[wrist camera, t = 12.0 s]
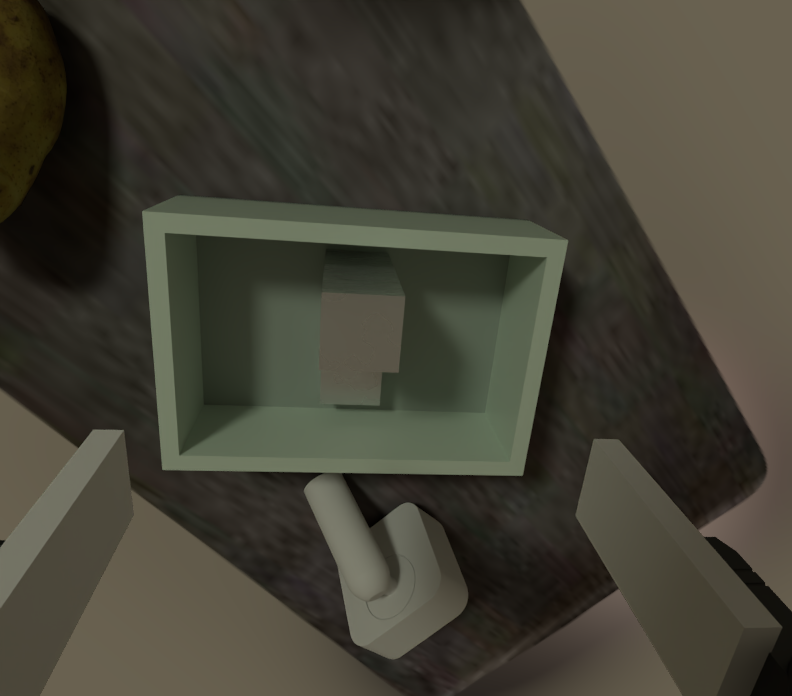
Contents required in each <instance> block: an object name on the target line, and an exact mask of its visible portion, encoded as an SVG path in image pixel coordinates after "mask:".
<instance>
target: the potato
mask: <svg viewBox="0 0 792 696" xmlns="http://www.w3.org/2000/svg"><path fill="white" fill-rule="evenodd" d="M66 94H67V83H66V73H65V67H64V62H63V59H62V55H61V52H60V49H59V46H58V43H57V40H56V37H55V34H54V32H53V29H52V26H51V23H50V21H49V18H48V16H47V14H46V12H45V10H44V8H43V7H42V6H41V4H40V3H39V2H38V0H0V223H1V222H3V221H4V220H5V219H6V218H8V217H9V216H10V215H11V214H12V213H13V212H14V211H15V210H16V209H17V207H18V206H21V205H22V203H23V200H24V199H25V197H26V195H27V193H28V191H29V190H30V188H31V187H32V185H33V183H34V181H35V179H36V177H37V175H38V173H39V171H40V169H41V166H42V164H43V161H44V159H45V157H46V155H47V154H48V153H49V152H50V151H51V149H52V148H53V146H54V144H55V143H56V141H57V139H58V137H59V134H60V132H61V128H62V123H63V117H64V112H65V106H66Z"/></svg>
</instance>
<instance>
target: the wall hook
mask: <svg viewBox="0 0 792 696" xmlns="http://www.w3.org/2000/svg"><path fill="white" fill-rule="evenodd" d="M304 493H305V495H306V497H307V500H308V502H309V504H310V506H311V508H312V511H313V513H314V515H315V517H316V519H317V522H318V524H319V526H320V528H321V530H322V532H323V535H324V537H325V539H326V541H327V543H328V546H329V548H330V550H331V552H332V554H333V557H334V559H335V561H336V563H337V565H338V570H339V576H340V581H341V587H342V592H343V597H344V603H345V608H346V613H347V618H348V623H349V629H350V634H351V637H352V640H353V641H354V642H355V643H356V644H357V645H359V646H361V647H364V648H366V649H368V650H370V651H373V652H375V653H377V654H379V655H382V656H384V657H386V658H389V659H397V658H399V657H401V656H402V655H404V654H405V653H406V652H408V651H409V650H411V649H412V648H414V647H415V646H416V645H418V644H419V643H421V642H422V641H424V640H425V639H426V638H428V637H429V636H431V635H432V634H433V633H435V632H436V631H438V630H439V629H441V628H442V627H443V626H445V625H446V624H448V623H449V622H450V621H452V620H453V619H454V618H456V617H457V616H459V615H460V614H461V613H462V611H463V610H464V608H465V606H466V604H467V601H468V589H467V586H466V583H465V581H464V578H463V576H462V573H461V571H460V568H459V565H458V563H457V561H456V558H455V556H454V553H453V551H452V548H451V546H450V543H449V541H448V538H447V536H446V533H445V531H444V528H443V526H442V525H441V524H440V523H439V522H438V521H437V520H435V519H434V518H432V517H431V516H430V515H428V514H427V513H425V512H424V511H423V510H421V509H420V508H418V507H417V506H416V505H414V504H412V503H404V504H401V505H400V506H398V507H397V508H396V509H394V510H393V511H392V512H390V513H389V514H388V515H387V516H385V517H384V518H383V519H381V520H380V521H379V522H378V523H376V524H375V525H374V526H372V527H371V528H369V526H368V525H367V523H366V521H365V519H364V517H363V515H362V513H361V511H360V509H359V507H358V505H357V503H356V501H355V499H354V497H353V495H352V493H351V491H350V489H349V487H348V485H347V483H346V481H345V479H344V477H343V475H342V473H324V474H321V475H319V476H317V477H316V478H314V479H313V480H312V481H310V482H309V483H308V484H307V486H306V487H305V489H304Z"/></svg>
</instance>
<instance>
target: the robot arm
mask: <svg viewBox="0 0 792 696" xmlns="http://www.w3.org/2000/svg"><path fill="white" fill-rule="evenodd" d="M133 515H134V513H133V505H132V496H131V487H130V479H129V470H128V462H127V453H126V444H125V436H124V430H93V431H92V432H91V433H90V435H89V436H88V437H87V438H86V440H85V441H84V442H83V444H82V445H81V446H80V447H79V449H78V450H77V451H76V452H75V454H74V455H73V456H72V457H71V459H70V460H69V461H68V462H67V464H66V465H65V466H64V468H63V469H62V470H61V471H60V473H59V474H58V475H57V476H56V478H55V479H54V480H53V481H52V483H51V484H50V485H49V486H48V488H47V489H46V490H45V491H44V493H43V494H42V495H41V497H40V498H39V499H38V500H37V502H36V503H35V504H34V505H33V507H32V508H31V509H30V510H29V512H28V513H27V514H26V515H25V517H24V518H23V520H22V521H21V522H20V523H19V525H18V526H17V527H16V528H15V529H14V531H13V532H12V533H11V534H10V536H9V537H8V538H7V540H5V541H4V540H3V541H2V540H0V696H40V694H41V692H42V691H43V689H44V687H45V685H46V683H47V681H48V679H49V677H50V675H51V673H52V671H53V669H54V667H55V666H56V664H57V662H58V660H59V658H60V656H61V654H62V652H63V650H64V648H65V646H66V644H67V642H68V640H69V638H70V637H71V635H72V633H73V631H74V629H75V627H76V625H77V623H78V621H79V619H80V617H81V615H82V614H83V612H84V609H85V608H86V606H87V604H88V602H89V600H90V598H91V596H92V594H93V592H94V590H95V589H96V586H97V584H98V583H99V581H100V579H101V577H102V575H103V573H104V571H105V569H106V567H107V565H108V563H109V561H110V559H111V558H112V556H113V554H114V552H115V550H116V548H117V546H118V544H119V542H120V540H121V538H122V537H123V535H124V533H125V531H126V529H127V527H128V525H129V523H130V521H131V519H132V517H133ZM576 517H577V519H578V521H579V523H580V524H581V526H582V528H583V529H584V531H585V533H586V534H587V536H588V538H589V539H590V541H591V543H592V544H593V546H594V548H595V549H596V551H597V553H598V554H599V556H600V558H601V559H602V561H603V563H604V564H605V566H606V568H607V570H608V571H609V573H610V575H611V576H612V578H613V580H614V581H615V583H616V585H617V586H618V588H619V590H620V591H621V593H622V595H623V596H624V598H625V600H626V601H627V603H628V605H629V606H630V608H631V610H632V611H633V613H634V615H635V616H636V618H637V620H638V621H639V623H640V625H641V626H642V628H643V630H644V632H645V633H646V635H647V637H648V638H649V640H650V642H651V643H652V645H653V647H654V648H655V650H656V652H657V653H658V655H659V657H660V658H661V660H662V662H663V663H664V665H665V667H666V669H667V670H668V672H669V674H670V675H671V677H672V678H673V680H674V682H675V683H676V685H677V687H678V689H679V690H680V692H681V693H682V695H683V696H792V612H791V610H790V609H789V608H788V607H787V606H786V605H785V604H784V603H783V602H782V601H781V600H780V598H779V597H778V596H777V595H776V594H775V593H774V592H773V591H772V590H771V589H770V588H769V587H768V586H765V582H764V581H763V580H762V579H761V578H760V577H759V576H758V575H757V573H756V572H753V571H752V568H751V567H750V566H749V565H748V564H747V563H746V561H745V560H744V559H743V558H742V557H741V556H740V555H739V554H738V553H737V552H736V551H735V550H733V549H732V548H730V547H729V546H728V545H726V544H725V543H723V542H722V541H720V540H719V539H717V538H716V537H703V536H702V535H701V533H700V532H699V531H698V530H697V529H696V528H695V526H694V525H693V524H692V523H691V522H690V521H689V520H688V518H687V517H686V516H685V515H684V514H683V513H682V512H681V510H680V509H679V508H678V507H677V506H676V505H675V503H674V502H673V501H672V500H671V499H670V498H669V497H668V495H667V494H666V493H665V492H664V491H663V490H662V489H661V487H660V486H659V485H658V484H657V483H656V482H655V481H654V479H653V478H652V477H651V476H650V475H649V474H648V473H647V471H646V470H645V469H644V468H643V467H642V466H641V465H640V463H639V462H638V461H637V460H636V459H635V458H634V456H633V455H632V454H631V453H630V452H629V451H628V450H627V448H626V447H625V446H624V445H623V444H622V443H621V442H620V440H619V439H594V440H593V444H592V449H591V453H590V457H589V461H588V465H587V470H586V474H585V478H584V482H583V486H582V491H581V495H580V499H579V503H578V507H577V512H576Z"/></svg>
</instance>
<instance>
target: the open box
mask: <svg viewBox="0 0 792 696" xmlns="http://www.w3.org/2000/svg"><path fill="white" fill-rule="evenodd" d="M142 215H143V228H144V241H145V254H146V266H147V279H148V292H149V305H150V317H151V330H152V343H153V356H154V368H155V381H156V394H157V407H158V419H159V432H160V445H161V458H162V470H201V471H261V472H322V473H383V474H443V475H504V476H523V472H524V467H525V461H526V456H527V451H528V446H529V441H530V436H531V430H532V425H533V420H534V415H535V410H536V404H537V399H538V394H539V389H540V384H541V379H542V373H543V368H544V363H545V358H546V353H547V348H548V342H549V337H550V332H551V327H552V322H553V317H554V311H555V306H556V301H557V296H558V291H559V285H560V280H561V275H562V270H563V265H564V260H565V254H566V249H567V244H568V240H567V239H565V238H563V237H561V236H559V235H557V234H555V233H553V232H551V231H549V230H547V229H545V228H543V227H541V226H539V225H537V224H535V223H533V222H531V221H529V220H521V219H507V218H493V217H479V216H465V215H451V214H437V213H424V212H410V211H396V210H382V209H368V208H354V207H340V206H326V205H313V204H299V203H285V202H271V201H257V200H243V199H229V198H215V197H202V196H188V195H178V196H176V197H173V198H171V199H169V200H167V201H164V202H162V203H160V204H157V205H155V206H153V207H151V208H148V209H146V210H144V211H142ZM326 249H334V250H350V251H366V252H383V253H389V256H390V258H391V261H392V263H393V266H394V269H395V271H396V274H397V276H398V279H399V281H400V284H401V287H402V289H403V292H404V294H405V307H404V318H403V329H402V340H401V351H400V362H399V373H391V372H382V380H381V393H380V406H376V405H342V404H320V386H321V370H319V348H320V320H321V292H322V282H323V273H324V263H325V253H326Z"/></svg>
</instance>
